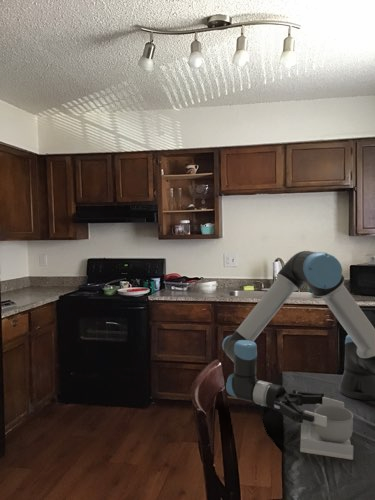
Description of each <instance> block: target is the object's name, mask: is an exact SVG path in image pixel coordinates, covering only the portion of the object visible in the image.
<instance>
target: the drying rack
mask: <svg viewBox="0 0 375 500" xmlns="http://www.w3.org/2000/svg"><path fill="white" fill-rule="evenodd" d="M300 426H301V427H300V447H299V451H300V453H307V454H311V455H312V454H313V455H318V456H325V457H333V458H338V459H339V458H340V459H346V460H354V445H352V444H351V437H350V438H349V439H348V440H346V441H345V442H343V443H332V442H327V441H325V440H324V439H323V438H322V437H320V436H319V435H318V433H317V431H316V428H315V424H314V423H311V422H308V421H305V420H303V423H300Z"/></svg>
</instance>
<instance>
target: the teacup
mask: <svg viewBox="0 0 375 500" xmlns="http://www.w3.org/2000/svg"><path fill="white" fill-rule="evenodd" d="M313 405H314V406H313V413H316V414H320V415H323V416H326V417H327V426H326V427H324V426H321V425H318V424H315V428H316V431H317V433H318V435H319V436H320V437H322V438H323V439H324V440H325V441H327V442H332V443H343V442H345V441H346V440H348V439H349V438H350V439H351V437H352V435H353V431H354V429H353V428H354V427H353V426H354V413H353V412H352V410H350V409H348V408H346V407H345V406H344V407H340V406H336V405H324V406H322V404H313Z"/></svg>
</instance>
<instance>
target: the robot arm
mask: <svg viewBox="0 0 375 500" xmlns="http://www.w3.org/2000/svg"><path fill="white" fill-rule="evenodd" d="M342 272H343V267H342V264H341V262H340V261H339V260H338V259H337V258H336V257H335V256H334V255H333V254H329V253H327V252H323V251H312V250H311V251H310V250H303V251H299V252H297V253H295V254H294V255H293V256H291V257H290V258H289V259H288V260H287V262H286V263H284V265H283V266H282V267H281V269H280V270H279V271H278V273H277V274H276V280H275V281H274V282H273V283H272V284H271V286H270V287H269V288H268V290H267V291H266V292H265V293H264V295H263V296H262V297H261V298H260V300H259V301H258V302H257V304H256V305H255V306H254V307H253V308H252V309H251V311H250V312H249V314H247V316H246V317H245V318H244V320H243V321H242V322H241V323H240V325H239V326H238V328H237V329H236V330H235V331H234V332H233V333H232V334H230V335H227V336H225V338H224V339H223V341H222V343H221V346H222V350H223V352H224V354H225V356H227V357H228V358H229V359H230V360H231V361H232V362H233V373H230V374H229V376H228V378H227V381H226V384H225V389H226V392H227V393H228V395H230V396H232V397H234V398H237V399H239V400H243V401H246V402H250V403H254V404H257V405H260V407H265V408H266V407H268V408H270V409H272V410H274V411H275V412H279V413H281V414H282V415H284V417H285V416H286V417H287V418H288V419H290V420H292V421H293V422H295V423H298V424H301V423H303V420H305V421H308V422H311V423H314V424H318V425H321V426H324V427H326V426H327V417H326V416H323V415H320V414H316V413H314V411H309V410H307V409H306V410H302V409H301V408H300V407H299V406H301V407H302V406H303V405H315V404H321V405H322V406H324V405H336V406H340V407H344V408H345V402H344V401H341V400H337V399H334V398H329V397H326V396H325V394H324V393H323V392H313V391H312V392H311V391H301V390H296V389H293V390H292V392H287V390H286V388H285V387H284V385H283V386H282V385H280V384H275V383H272V382H268V381H264V380H260V379H257V362H258V361H257V360H258V358H257V357H258V350H257V348H258V345H257V343H256V342H255V340H256V339H257V338H258V337H259V335H260V334H261V333H262V332H263V331H264V329H265V328H266V327H267V325H268V324H269V323H270V321H271V320H272V319H273V318H274V317H275V316H276V314H277V313H278V312H279V310H280V309H281V308H282V307H283V305H284V304H285V303H286V302H287V300H288V299H289V298H290V297H291V295H292V294H293V293H294V292H297V291H299V290H300V288H301V287H302V286H304V285H306V286H308V288H309V289H310V291H311V292H312V294H313V295H314V296H315V297H317V298H322V300H323V301H324V303H325V304H326V305H327V307H328V308H329V310H330V311H331V313H332V314H333V315H334V317H335V318H336V319H337V322H339V324H340V325H341V326H342V328H343V329H344V331H346V333H347V335H346V336H345V340H344V368H343V369H344V371H343V374H342V377H341V380H340V382H339V384H338V392H339V393H340V394H342V395H344V396H346V397H348V398H352V399H356V400H360V401H361V400H362V401H374V400H375V327H374V325H373V324H372V323H371V321H370V320H369V318H368V317H367V316H366V314H365V313H364V312H363V310H362V309H361V307H360V306H359V304H358V303H357V302H356V300H355V299H354V298H353V295H352V294H351V293H350V292H349V290H348V289H347V287H346V286H345V279H346V278H345V276H344V275H343V273H342Z"/></svg>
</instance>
